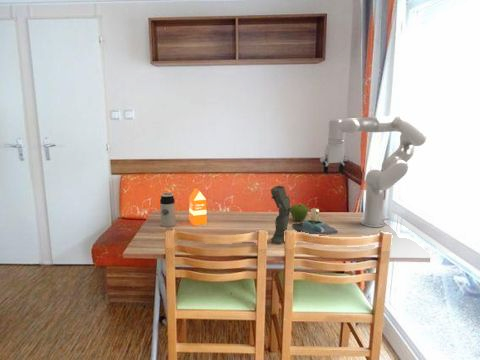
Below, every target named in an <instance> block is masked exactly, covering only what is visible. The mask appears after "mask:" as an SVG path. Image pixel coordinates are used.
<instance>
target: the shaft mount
mask: <svg viewBox="0 0 480 360" xmlns="http://www.w3.org/2000/svg"><path fill="white" fill-rule="evenodd" d="M291 227H292V228H294V229H295V230H297V231H298V232H300V231H302V232H305V233H309V234H327V235H335V234H338V232H339V230H337V229H336V228H334V227H332V226H330V225H329V224H326V223H325V222H323V221H321V220H320V219H319V223H318V224H311V219H304V220H302V222H297V223H295V222H294V223H291Z"/></svg>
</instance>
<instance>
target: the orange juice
mask: <svg viewBox="0 0 480 360" xmlns="http://www.w3.org/2000/svg"><path fill="white" fill-rule="evenodd" d="M188 200H189V201H188V204H189V205H188V206H189V207H188V208H189V222H190V223H191V224H192V226H194V225H196V226H200V225H201V224H203V225H207V223H208V222H207V198H206V197H205V196H204V195H203V193H202V192H201V190H199V189H198V188H196V187H195V188H194V189H193V191H192V193H191V194H190V196H189V197H188Z"/></svg>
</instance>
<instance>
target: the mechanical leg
mask: <svg viewBox="0 0 480 360" xmlns="http://www.w3.org/2000/svg"><path fill="white" fill-rule="evenodd" d="M270 192H271V198H272V199H273V201H274V203H275V204H276V207H277V209H278V215H277V216H276V218H275V220H274V222H275V231H274V234H273V235H272V237H271V239H270V243H272V244H276V245H282V244H284V231H285V230H287V231H288V226H289V225H288V224H289V221H290V214H291V213H290V209H291V199H290V196H289V195H287V192H286V188H285V187H284V186H283V185H276V186H274V187H273V188H271V189H270Z"/></svg>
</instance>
